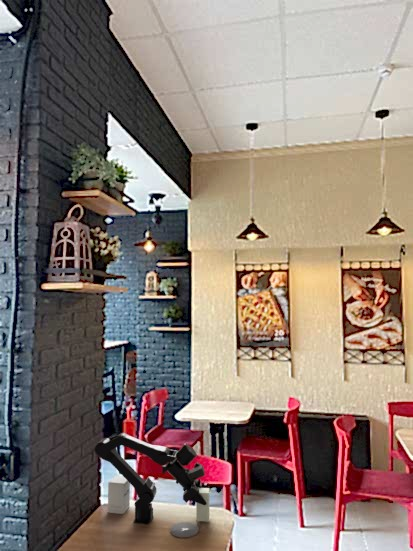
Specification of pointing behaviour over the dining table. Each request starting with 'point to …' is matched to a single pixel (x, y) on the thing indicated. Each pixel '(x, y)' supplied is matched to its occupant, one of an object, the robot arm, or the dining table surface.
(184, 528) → the slate coaster
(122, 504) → the supplement box
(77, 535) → the dining table surface
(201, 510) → the block
